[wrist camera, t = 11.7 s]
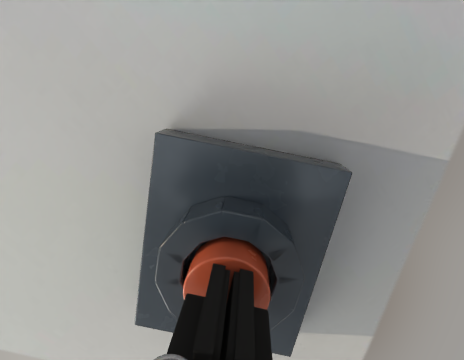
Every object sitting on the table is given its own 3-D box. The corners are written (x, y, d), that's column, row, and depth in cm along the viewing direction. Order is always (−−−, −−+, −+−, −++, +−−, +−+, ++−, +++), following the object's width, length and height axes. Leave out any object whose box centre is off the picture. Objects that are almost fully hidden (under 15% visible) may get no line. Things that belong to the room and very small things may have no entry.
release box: (165, 128, 14) (139, 138, 10) (340, 163, 14) (369, 184, 10) (145, 303, 17) (119, 353, 14) (286, 332, 17) (295, 390, 14)
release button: (197, 228, 12) (188, 249, 11) (275, 244, 12) (280, 267, 11) (186, 294, 13) (176, 322, 12) (258, 309, 13) (259, 339, 12)
